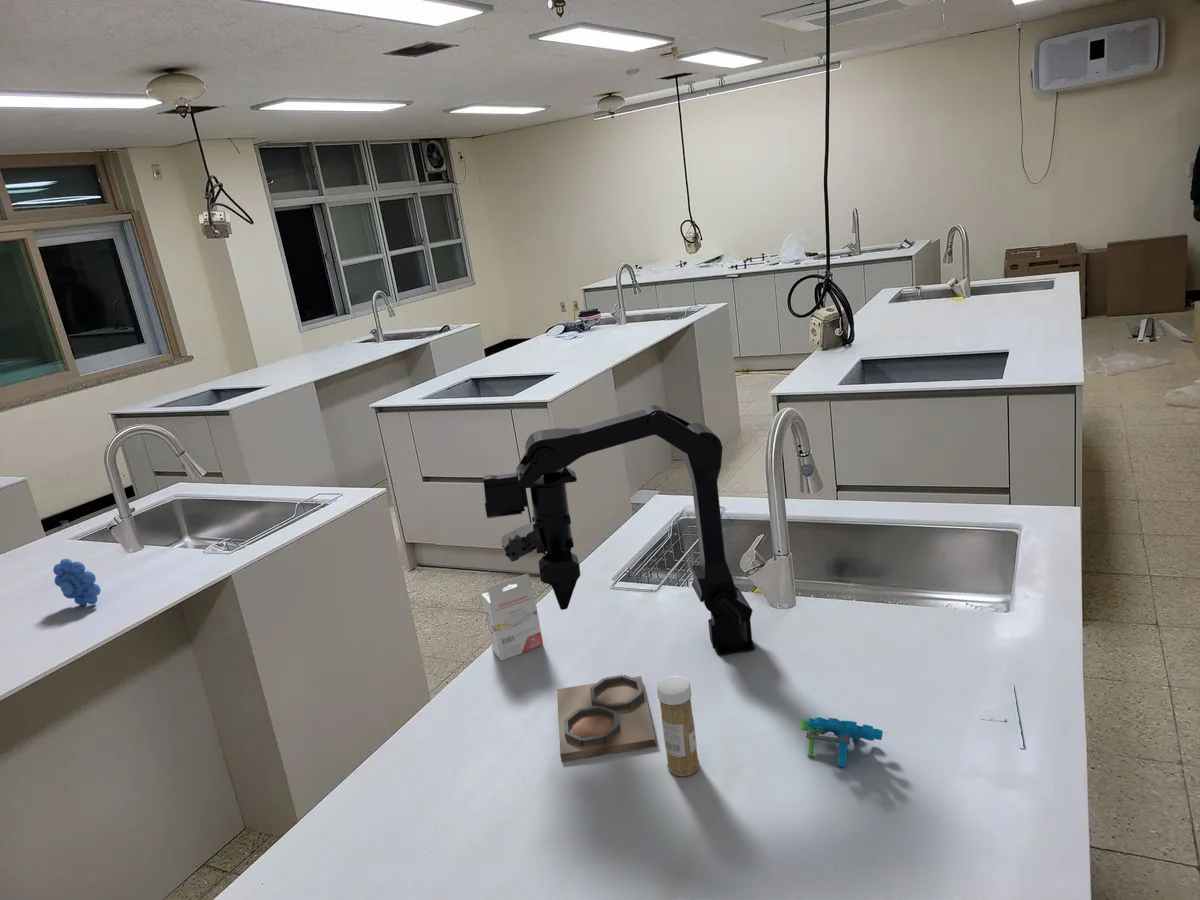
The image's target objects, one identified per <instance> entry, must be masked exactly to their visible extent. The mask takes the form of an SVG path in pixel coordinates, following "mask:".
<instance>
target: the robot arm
mask: <svg viewBox="0 0 1200 900" xmlns="http://www.w3.org/2000/svg"><path fill="white" fill-rule="evenodd" d="M652 436H658V437H659V438H660V439H663V440H664V441H666V442H667V443H669V444H670V445H672V446H673V447H675V448H677V450H680V452H681V454H682V455H681V456H682V459H683V461H684V462H683V463H684V464H685V467H686V469H687V472H688V474H689V478H690V481H691V488H692V497H693V498H692V499H693V505H694V513H695V522H696V531H697V540H698V547H699V549H698V550H699V559H698V563H697V564H692V565H690V566H689V567H690V570H691V573H692V581H691V586H692V588H693V590H694V591H695V594H696V596H697V597H698V599H699V602H701V603H703V605H704V606H705V607H706V610H707V611H709V612H710V618H709V619H708V620H707V622H708V632H709V633H708V634H709V640H710V643H711V646H712V647H713V648H715V650H716V653H717V655H719V656H722V655H729V654H735V653H739V652H740V653H741V652H748V651H753V650H754V651H755V649H756V645H755V643H754V641H753V635H752V625H751V623H752V622H751V618H752V613H753V608H752V607H751V605H750V604H749V602H748V601H747V599H746V597H745V596H744V595H743V593H742V592H741V590H740V588H739V587H737V586H736V585H735V581H734V578H733V576H732V574H731V571H730V568H729V565H728V563H727V560H726V552H725V543H724V532H723V524H722V515H721V514H722V513H721V506H720V496H719V488H718V487H719V486H718V480H719V476H720V474H721V473H720V472H721V469H722V459H723V443H722V441H721V439H720V438H719V437H718V436H717V434H715V433H714V432H713V431H712V429H711V428H709V426H707V425H706V424H704V423H701V422H694V423H690V422H689V421H687V420H685V419H684V418H681V417H679V416H677V415H675V414H672V413H671V412H669V411H666V410H665V409H663V407H661V406H660V405H655V404H654V405H650V406H647V407H646V408H644V409H643V408H642V409H640V410H637V411H633V412H630V413H626V414H623V415H619V416H616V417H615V416H614V417H613V418H609V419H605V420H603V421H602V420H601V421H598V422H595V423H591V424H588V425H585V426H581V427H573V428H563V427H561V428H560V427H557V428H549V429H541V430H540V429H539V430H537V431H534V432H532V433H531V434H530V435H529V436H528V438H527V440H526V441H525V445H524V449H525V453H524V455H523V457H522V458H521V460H520V462H519V463H518V465H517V466H516V472H512V473H505V474H497V475H494V474H489V475H484V476H483V487H484V488H483V490H484V506H485V507H484V508H485V515H486V519H487V520H488V519H495V518H497V519H498V518H503V517H512V516H517V515H523V512H525V511H526V508H529V504H528V495H527V489H529V490H530V497H531V504H532V513H533V514H531V519H532V522H529V523H527V524H524V525H521V526H519V527H518V528H515V529H514V530H511V531H510V532H508V533H506V534H504V535H503V536H502V537H501V547H502V548H503V550H504V552H505V556H506V557H507V558H508V559H509V561H510V562H516V561H518V560H519V559H520V558H522V557H523V556H526V555H528V554H530V553H531V552H533V551H536V554H543V556H542V557H541V558H540V559H539V560H538V569H539V570H538V571H539V577H540V582H541V583H543V584H545V585H546V584H547V585H549V586H551V587H552V591H553V593H554V595H555V598H556V600H557V603H558V606H559V609H560V610H561V611H563V610H567V609H568V607H569V605H570V602H571V599H572V596H573V593H574V590H575V587H576V585H577V583H578V579H579V578H580V577H581V567H580V561H579V557H578V555H576V554H574V553H573V552H571V551H572V548H574V540H573V535H572V527H571V524H572V522H571V521H572V520H571V516H570V509H569V502H568V492H567V485H566V484H569V483H576V482H577V480H578V478H577V474H576V472H575V471H574V470H572V469H571V468H569V467H568V466H570V465H571V464H573V463H574V462H576V461H577V460H578V459H580V458H582V457H584V456H586V455H588V454H592V453H596V452H600V451H603V450H606V449H609V448H613V447H617V446H620V445H623V444H627V443H631V442H635V441H637V440H641V439H645V438H647V437H652Z"/></svg>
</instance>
